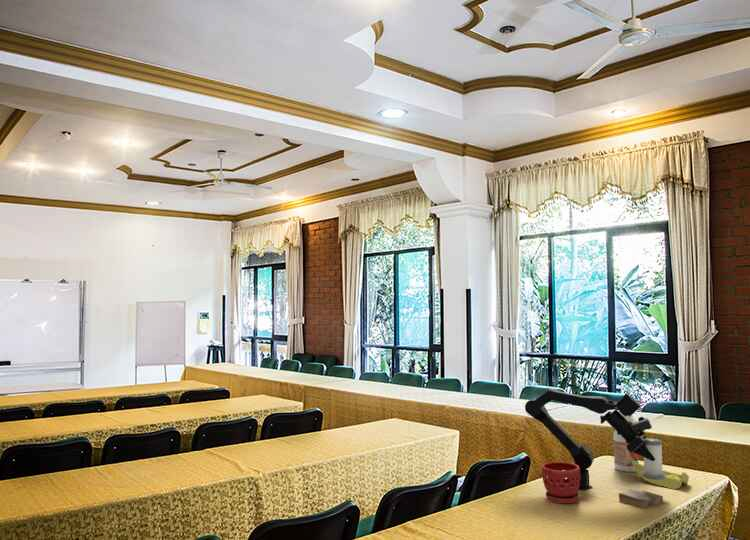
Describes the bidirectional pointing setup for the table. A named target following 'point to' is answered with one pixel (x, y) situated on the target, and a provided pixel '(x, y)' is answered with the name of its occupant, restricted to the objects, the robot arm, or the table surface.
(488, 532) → the table surface
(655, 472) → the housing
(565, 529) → the table surface
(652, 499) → the stand
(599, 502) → the table surface
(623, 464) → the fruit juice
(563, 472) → the plant pot
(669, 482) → the plastic component
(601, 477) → the table surface
